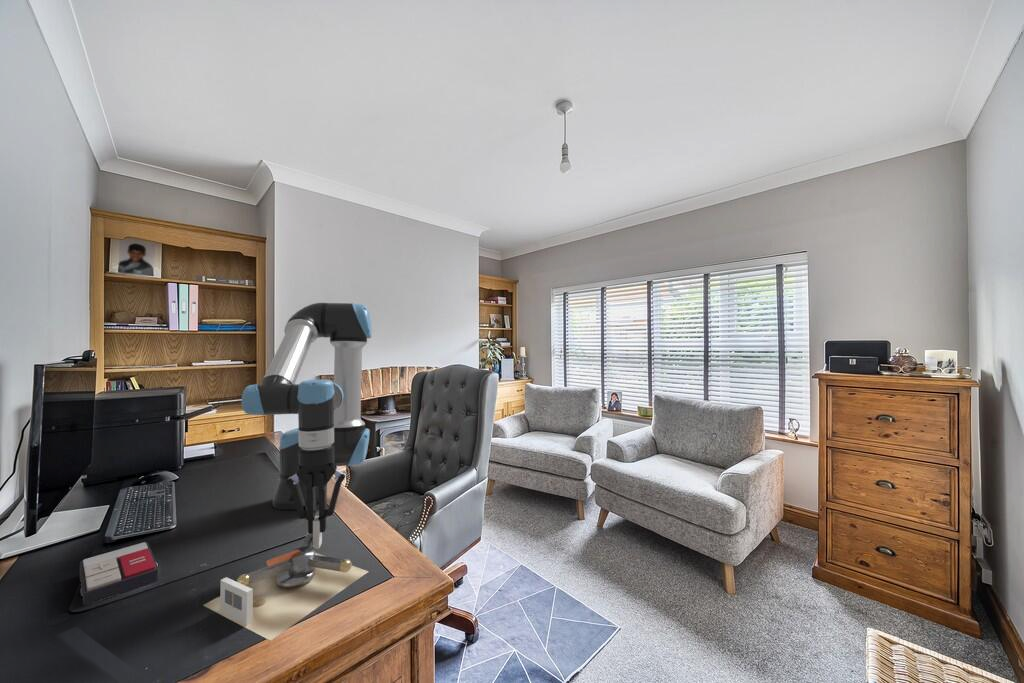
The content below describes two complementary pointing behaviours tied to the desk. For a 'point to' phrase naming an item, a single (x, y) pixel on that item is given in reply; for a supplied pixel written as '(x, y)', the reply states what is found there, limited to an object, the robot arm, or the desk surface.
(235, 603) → the panel
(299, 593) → the stand base
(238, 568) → the desk surface
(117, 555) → the grey and red box
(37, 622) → the desk surface
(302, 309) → the robot arm
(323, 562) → the capstan
